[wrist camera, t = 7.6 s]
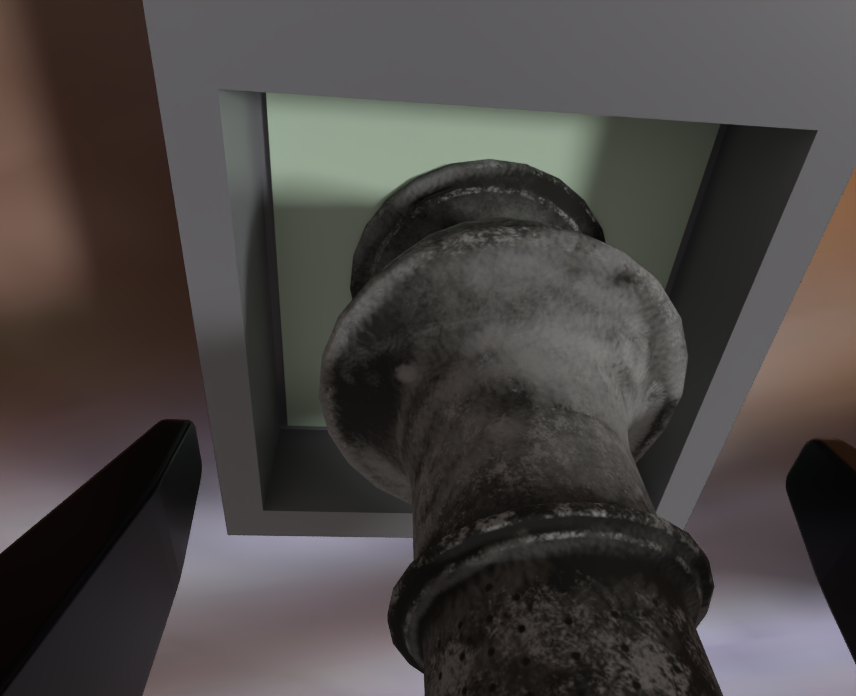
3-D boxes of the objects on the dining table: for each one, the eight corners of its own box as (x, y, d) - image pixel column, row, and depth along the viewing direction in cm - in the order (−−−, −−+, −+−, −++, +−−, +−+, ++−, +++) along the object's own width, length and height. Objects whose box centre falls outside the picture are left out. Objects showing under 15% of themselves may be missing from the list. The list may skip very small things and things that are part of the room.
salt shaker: (659, 328, 14) (1264, 1335, 4) (423, 430, 15) (470, 1353, 6) (558, 80, 11) (1916, 1660, 1) (276, 237, 12) (-169, 1519, 3)
